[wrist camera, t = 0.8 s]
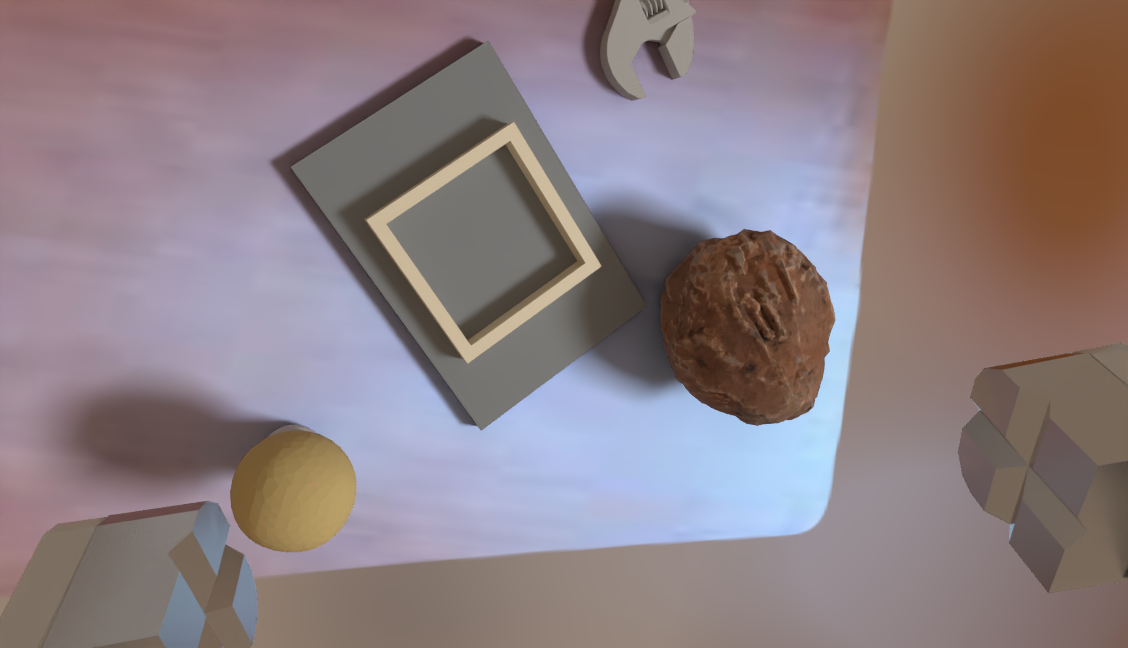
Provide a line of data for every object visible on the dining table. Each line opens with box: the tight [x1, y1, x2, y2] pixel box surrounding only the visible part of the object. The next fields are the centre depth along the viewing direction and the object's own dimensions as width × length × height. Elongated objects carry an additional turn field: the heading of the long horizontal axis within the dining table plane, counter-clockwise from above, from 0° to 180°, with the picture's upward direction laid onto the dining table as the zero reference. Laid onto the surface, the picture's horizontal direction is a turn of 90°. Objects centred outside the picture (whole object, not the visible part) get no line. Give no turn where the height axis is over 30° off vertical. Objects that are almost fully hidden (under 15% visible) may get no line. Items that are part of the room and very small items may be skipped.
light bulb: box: [230, 425, 356, 552], centre depth 45 cm, size 6×6×10 cm
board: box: [290, 41, 647, 430], centre depth 50 cm, size 20×14×2 cm
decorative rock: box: [660, 229, 835, 426], centre depth 53 cm, size 13×11×10 cm
